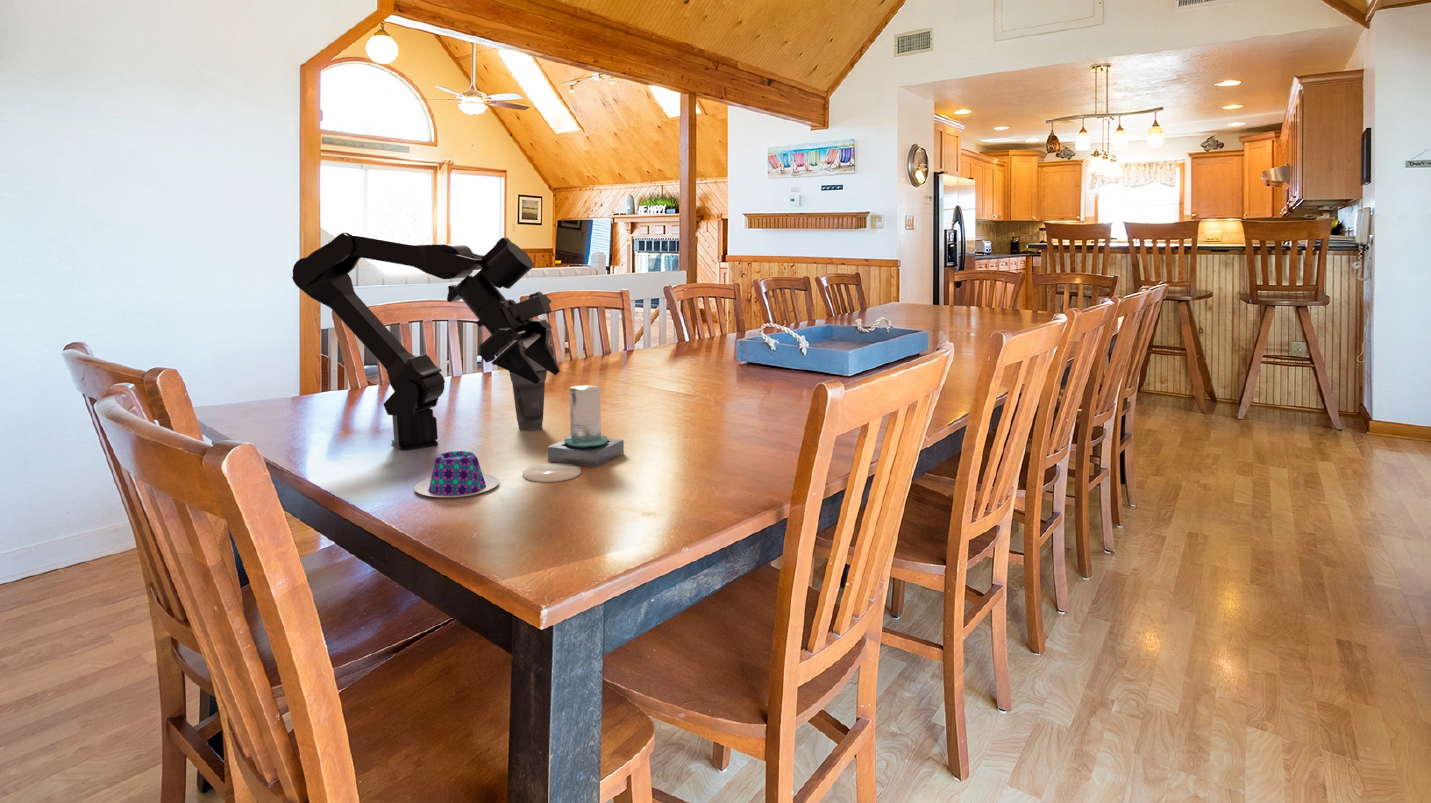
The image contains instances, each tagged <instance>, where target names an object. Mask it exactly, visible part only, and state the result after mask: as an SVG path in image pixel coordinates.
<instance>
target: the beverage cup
mask: <svg viewBox="0 0 1431 803" xmlns="http://www.w3.org/2000/svg"><path fill="white" fill-rule="evenodd" d="M527 358H528V359H529V361H530V363H531V364H532V366H533V367H534V369H535V370H536V372H537V374H538V375H539V377H540V379H541V381H540V382H539V383H537V384H535V383H533V382H531V381H529V380H527V379H525V378H523V377H521V376H519V375H517V374H515V373H513V372H510V371H508V373H509V376H510V381H511V384H512V392H513V399H514V406H515V414H516V415H515V416H516V421H517V424H518V425H517V426H518V430H519V431H522V432H534V431H539V430H542V429H543V423H544V407H545V389H546V388H545V387H546V386H545V385H546V380H547V379H546V378H547V371H548V370H546V369H545V368H543V367H542V366H540V365H539V364H538V363H536V362H535V361H533V360H532V359H530V358H529V357H527Z"/></svg>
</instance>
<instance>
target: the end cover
mask: <svg viewBox="0 0 1431 803" xmlns="http://www.w3.org/2000/svg"><path fill="white" fill-rule="evenodd" d="M569 414H570V415H569V416H570V420H569V421H570V435H569V436H567V437H565V438H564V442H565V445H567V446H570V447H576V448H584V449H595V448H597V447H599V446H602V445H605V444H606V443H607V442H608V438H609V437H607V435H603V434H602V421H601V420H602V419H601V418H602V417H601V388H600V386H597V385H574V386H570V387H569Z"/></svg>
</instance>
